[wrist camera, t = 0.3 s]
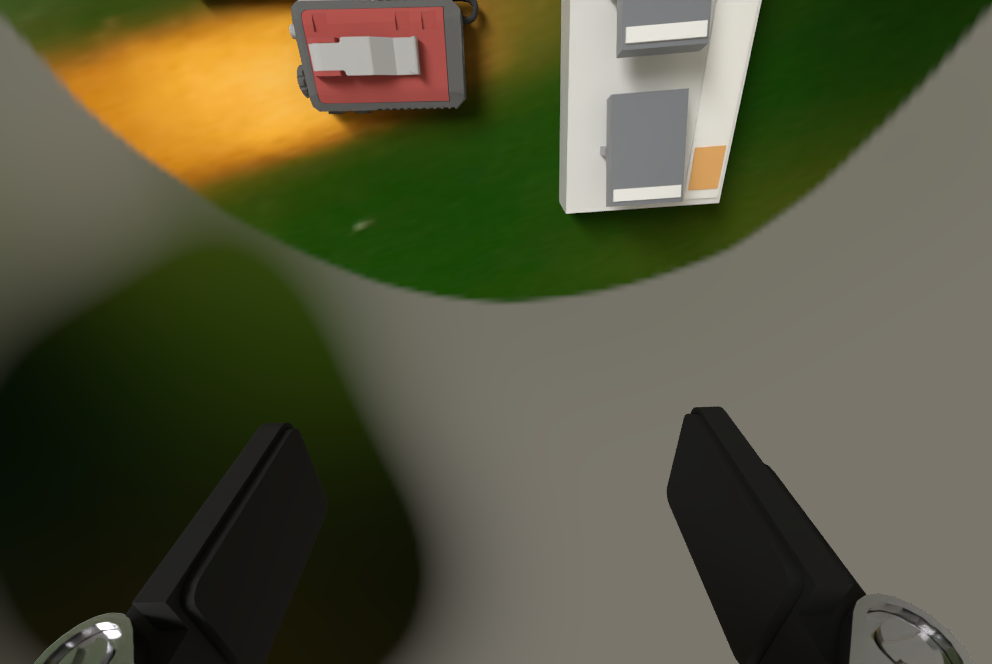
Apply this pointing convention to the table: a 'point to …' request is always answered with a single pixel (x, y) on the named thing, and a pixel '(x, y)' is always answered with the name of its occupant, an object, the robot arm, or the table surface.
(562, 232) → the table surface
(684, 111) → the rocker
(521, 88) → the table surface
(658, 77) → the switch unit
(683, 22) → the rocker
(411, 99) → the walkie-talkie
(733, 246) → the table surface
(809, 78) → the table surface
